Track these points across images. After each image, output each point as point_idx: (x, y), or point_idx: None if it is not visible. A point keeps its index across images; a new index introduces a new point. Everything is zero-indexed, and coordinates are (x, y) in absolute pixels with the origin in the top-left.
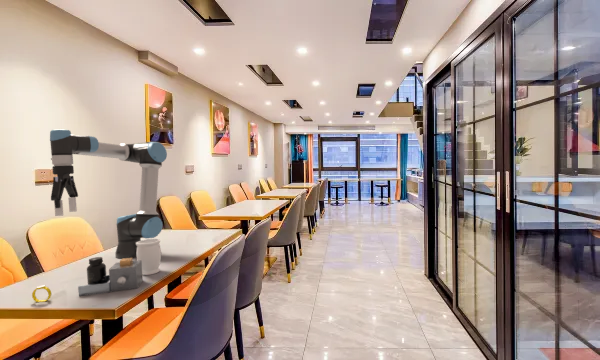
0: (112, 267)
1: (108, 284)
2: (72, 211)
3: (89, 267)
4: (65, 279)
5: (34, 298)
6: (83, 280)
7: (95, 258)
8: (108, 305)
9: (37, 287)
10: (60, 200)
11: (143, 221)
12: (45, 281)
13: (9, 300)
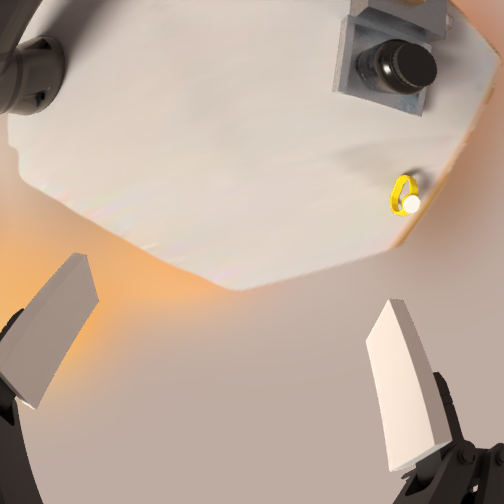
0: (427, 25)
1: (429, 47)
2: (92, 282)
3: (423, 87)
4: (221, 176)
5: (397, 207)
6: (261, 119)
7: (418, 65)
8: (488, 66)
9: (415, 210)
10: (445, 441)
11: None
12: (216, 224)
13: (342, 258)
